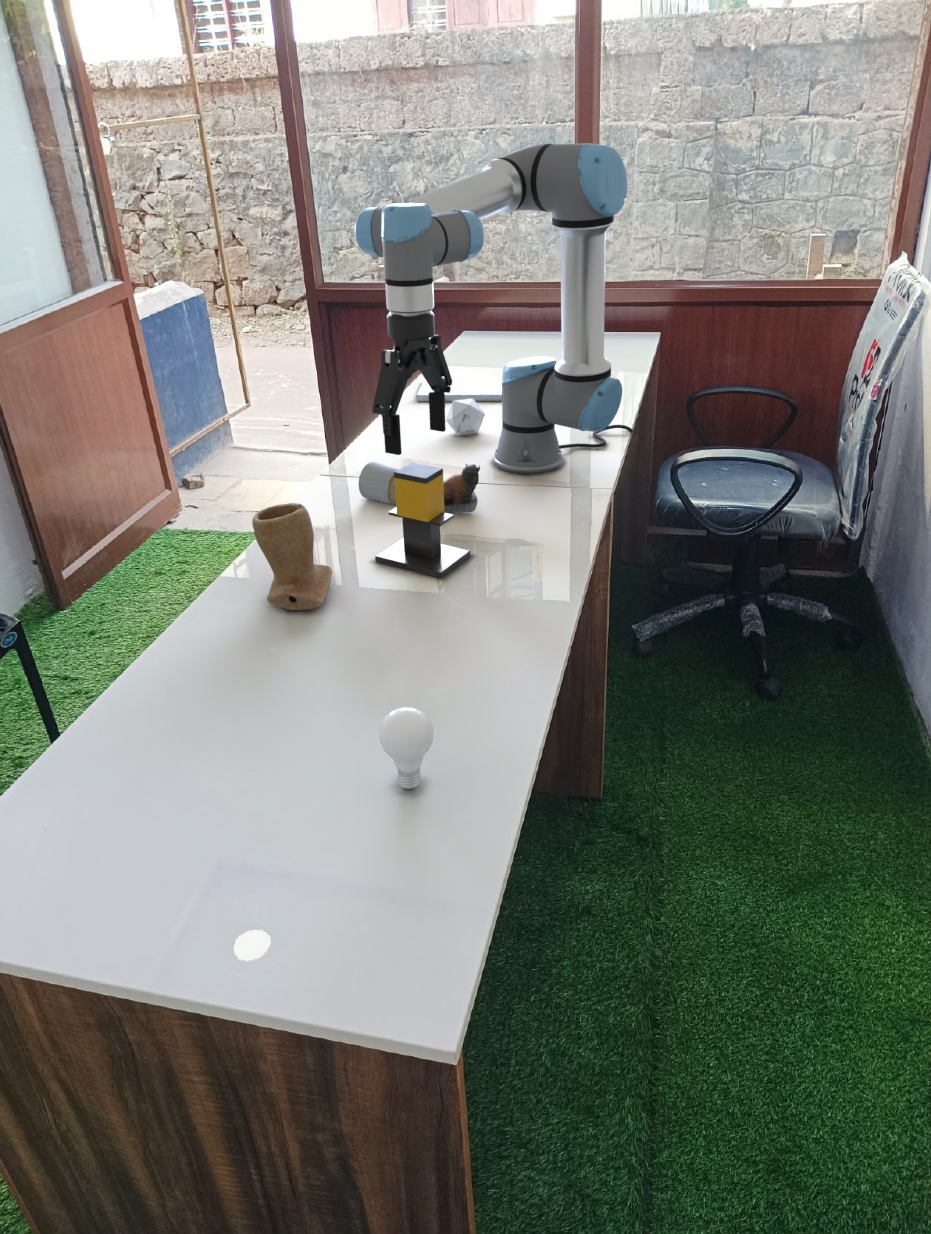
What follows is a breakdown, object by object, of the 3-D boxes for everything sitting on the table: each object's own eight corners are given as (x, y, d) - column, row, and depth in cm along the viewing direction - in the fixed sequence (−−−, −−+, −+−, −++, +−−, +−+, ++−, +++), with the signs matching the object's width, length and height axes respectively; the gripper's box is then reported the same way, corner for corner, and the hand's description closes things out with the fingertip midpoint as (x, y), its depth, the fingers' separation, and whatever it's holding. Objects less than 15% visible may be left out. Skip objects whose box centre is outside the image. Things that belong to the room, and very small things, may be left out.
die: (439, 436, 228) (446, 411, 219) (451, 409, 232) (458, 384, 223) (471, 448, 228) (479, 424, 219) (482, 422, 232) (491, 397, 223)
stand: (406, 541, 173) (403, 496, 168) (470, 556, 166) (469, 510, 162) (375, 561, 165) (371, 515, 161) (441, 578, 159) (439, 531, 154)
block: (414, 504, 165) (411, 462, 161) (444, 511, 162) (443, 468, 158) (396, 515, 161) (393, 472, 157) (427, 522, 158) (425, 478, 154)
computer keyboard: (571, 382, 264) (571, 377, 264) (572, 401, 248) (572, 395, 247) (423, 382, 268) (423, 376, 267) (415, 400, 252) (415, 394, 251)
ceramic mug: (391, 510, 185) (389, 474, 182) (358, 503, 189) (356, 467, 185) (420, 493, 193) (418, 459, 190) (388, 487, 197) (386, 452, 193)
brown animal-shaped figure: (418, 513, 184) (416, 466, 179) (430, 500, 190) (428, 454, 184) (475, 520, 180) (474, 471, 175) (485, 506, 186) (485, 459, 181)
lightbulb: (383, 770, 114) (377, 697, 108) (434, 767, 114) (430, 694, 109) (383, 805, 108) (377, 730, 103) (437, 801, 109) (433, 726, 103)
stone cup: (271, 573, 162) (259, 493, 155) (337, 572, 162) (329, 493, 154) (250, 615, 149) (237, 531, 142) (323, 615, 149) (313, 530, 141)
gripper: (432, 296, 155) (436, 418, 166) (343, 324, 137) (354, 460, 147) (470, 299, 152) (472, 424, 162) (384, 328, 133) (392, 467, 144)
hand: (416, 441), depth 155 cm, fingers open, 13 cm apart
